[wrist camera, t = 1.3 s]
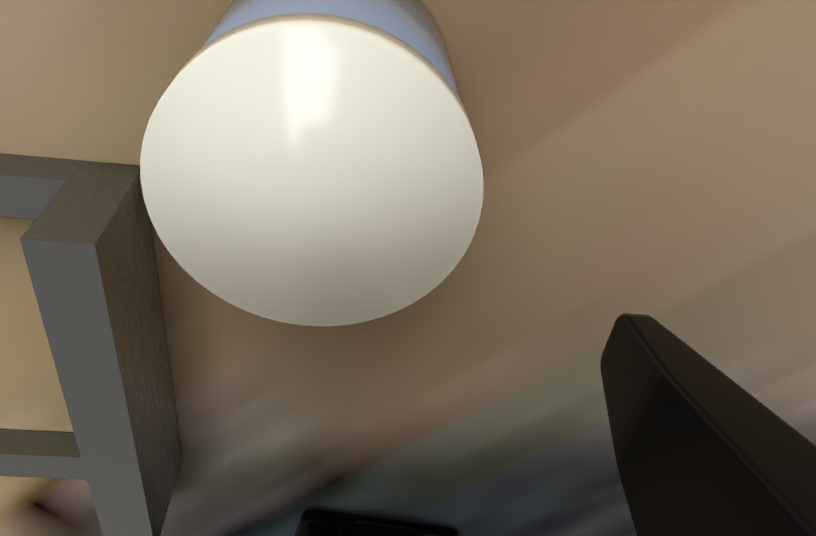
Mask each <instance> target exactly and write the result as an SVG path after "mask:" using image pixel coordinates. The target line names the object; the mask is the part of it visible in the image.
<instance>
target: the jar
mask: <svg viewBox="0 0 816 536" xmlns="http://www.w3.org/2000/svg"><path fill="white" fill-rule="evenodd" d="M140 180H141V186H142V192H143V198H144V202H145V205H146V208H147V211H148V214H149V217H150V219H151V222H152V224H153V226H154V228H155V230H156V232H157V234H158V236H159V238H160V239H161V241H162V242H163V244H164V245H165V247H166V248H167V250H168V251H169V253H170V254H171V255H172V256H173V258H174V259H175V260H176V261H177V262H178V263H179V265H180V266H181V267H182V268H183V269H184V270H185V271H186V272H187V273H188V274H189V275H190V276H191V277H192V278H194V279H195V280H196V281H197V282H198V283H200V284H201V285H202V286H204V287H205V288H206V289H207V290H209V291H210V292H211V293H213V294H215V295H216V296H218V297H220V298H221V299H223V300H225V301H226V302H228V303H230V304H232V305H234V306H236V307H238V308H240V309H243V310H245V311H247V312H250V313H253V314H255V315H258V316H261V317H264V318H267V319H271V320H275V321H279V322H283V323H290V324H296V325H303V326H343V325H349V324H356V323H362V322H366V321H370V320H374V319H378V318H381V317H384V316H386V315H389V314H392V313H394V312H397V311H399V310H401V309H403V308H405V307H407V306H409V305H411V304H413V303H414V302H416V301H417V300H419V299H421V298H422V297H424V296H425V295H427V294H428V293H429V292H431V291H432V290H433V289H434V288H435V287H437V286H438V285H439V284H440V283H441V282H442V281H443V280H444V279H445V278H446V277H447V276H448V275H449V274H450V273H451V272H452V271H453V270H454V269H455V267H456V266H457V264H458V263H459V261H460V260H461V259H462V257H463V256H464V254H465V253H466V251H467V249H468V247H469V245H470V243H471V241H472V239H473V237H474V234H475V231H476V229H477V226H478V223H479V220H480V214H481V209H482V204H483V188H484V181H483V172H482V163H481V159H480V155H479V152H478V148H477V144H476V140H475V137H474V133H473V129H472V125H471V122H470V120H469V117H468V115H467V113H466V110H465V108H464V106H463V104H462V102H461V100H460V99H459V96H458V92H457V88H456V84H455V80H454V76H453V72H452V68H451V64H450V60H449V56H448V53H447V49H446V45H445V41H444V39H443V36H442V34H441V31H440V29H439V27H438V25H437V23H436V21H435V20H434V18H433V16H432V14H431V13H430V11H429V10H428V9H427V7H426V6H425V5H424V3H423V2H422V1H421V0H234V1H233V2H232V3H231V5H230V6H229V8H228V9H227V11H226V12H225V14H224V15H223V17H222V18H221V20H220V21H219V23H218V24H217V26H216V27H215V29H214V30H213V32H212V33H211V35H210V37H209V38H208V40H207V41H206V43H205V44H204V46H203V47H202V48H201V49H200V50H199V51H198V52H197V53H196V54H195V55H194V56H193V57H192V58H191V59H190V60H189V61H188V62H186V63H185V65H184V66H183V67H182V69H181V70H180V71H179V73H178V74H177V75H176V77H175V78H174V79H173V81H172V82H171V84H170V85H169V87H168V88H167V90H166V91H165V93H164V94H163V95H162V97H161V98H160V100H159V102H158V104H157V106H156V108H155V109H154V111H153V113H152V115H151V117H150V119H149V122H148V125H147V129H146V132H145V135H144V138H143V143H142V150H141V157H140Z"/></svg>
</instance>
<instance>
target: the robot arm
mask: <svg viewBox="0 0 816 536" xmlns="http://www.w3.org/2000/svg"><path fill="white" fill-rule="evenodd" d="M601 375H602V381H603V387H604V393H605V399H606V405H607V410H608V416H609V422H610V428H611V434H612V440H613V446H614V451H615V456H616V461H617V466H618V470H619V474H620V477H621V481H622V485H623V488H624V492H625V495H626V498H627V502H628V505H629V509H630V512H631V516H632V519H633V522H634V526H635V529H636V533H637V536H816V446H815V445H814V444H813V443H811V442H810V441H809V440H808V439H806V438H805V437H804V436H802V435H801V434H800V433H799V432H797V431H796V430H795V429H794V428H792V427H791V426H790V425H789V424H787V423H786V422H785V421H783V420H782V419H781V418H780V417H778V416H777V415H776V414H775V413H773V412H772V411H771V410H769V409H768V408H767V407H766V406H764V405H763V404H762V403H761V402H759V401H758V400H757V399H755V398H754V397H753V396H752V395H750V394H749V393H748V392H747V391H745V390H744V389H743V388H741V387H740V386H739V385H738V384H736V383H735V382H734V381H733V380H731V379H730V378H729V377H728V376H726V375H725V374H724V373H722V372H721V371H720V370H719V369H717V368H716V367H715V366H714V365H712V364H711V363H710V362H708V361H707V360H706V359H705V358H703V357H702V356H701V355H700V354H698V353H697V352H696V351H694V350H693V349H692V348H691V347H689V346H688V345H687V344H686V343H684V342H683V341H682V340H680V339H679V338H678V337H677V336H675V335H674V334H673V333H672V332H670V331H669V330H668V329H667V328H665V327H664V326H663V325H661V324H660V323H659V322H658V321H656V320H655V319H654V318H652V317H651V316H648V315H642V314H627V313H625V314H622V315H620V316H619V317H618V318H617V320H616V321H615V324H614V326H613V329H612V331H611V334H610V336H609V338H608V341H607V343H606V346H605V348H604V351H603V353H602V357H601ZM295 536H459V533H458V531H456V530H455V529H451V528H445V527H438V526H431V525H423V524H416V523H409V522H402V521H395V520H388V519H381V518H374V517H367V516H359V515H352V514H345V513H338V512H331V511H324V510H314V509H312V510H307V511H306V512H304V513H303V514H302V516H301V519H300V522H299V525H298V528H297V530H296V533H295Z"/></svg>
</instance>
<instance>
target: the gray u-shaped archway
mask: <svg viewBox="0 0 816 536" xmlns="http://www.w3.org/2000/svg"><path fill="white" fill-rule="evenodd" d="M0 217H13V218H26V219H35V221H34V222H33V223H32V224H31V226H30V227H29V228H28V230H27V231H26V232H25V233H24V235H23V236H22V237H21V239H20V241H21V244H22V248H23V252H24V255H25V259H26V262H27V266H28V269H29V273H30V277H31V280H32V284H33V287H34V291H35V294H36V298H37V302H38V305H39V309H40V312H41V316H42V319H43V323H44V327H45V330H46V334H47V337H48V341H49V344H50V348H51V352H52V355H53V359H54V362H55V366H56V370H57V373H58V377H59V380H60V384H61V387H62V391H63V395H64V398H65V402H66V405H67V409H68V412H69V416H70V420H71V423H72V427H73V430H74V433H68V432H47V431H26V430H5V429H0V476H16V477H40V478H64V479H87V480H88V484H89V488H90V491H91V495H92V498H93V502H94V505H95V509H96V513H97V516H98V520H99V523H100V527H101V530H102V534H103V536H160V534H161V530H162V527H163V523H164V520H165V517H166V513H167V510H168V506H169V503H170V499H171V496H172V492H173V489H174V485H175V482H176V479H177V475H178V472H179V468H180V465H181V461H182V455H181V447H180V440H179V433H178V425H177V418H176V410H175V403H174V395H173V388H172V381H171V373H170V366H169V358H168V351H167V343H166V336H165V328H164V321H163V314H162V306H161V299H160V291H159V284H158V276H157V269H156V262H155V254H154V247H153V239H152V232H151V224H150V217H149V214H148V211H147V208H146V205H145V202H144V198H143V192H142V186H141V180H140V166H135V165H123V164H112V163H100V162H89V161H78V160H66V159H55V158H43V157H32V156H21V155H9V154H0Z"/></svg>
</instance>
